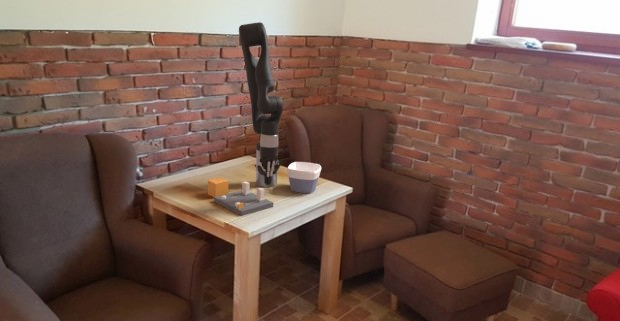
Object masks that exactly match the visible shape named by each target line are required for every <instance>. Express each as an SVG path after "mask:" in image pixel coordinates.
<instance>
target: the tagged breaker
mask: <svg viewBox="0 0 620 321" xmlns="http://www.w3.org/2000/svg"><path fill="white" fill-rule="evenodd" d="M255 195H256V198H255V200H256V201H258V202H263V201H265V200H266V198H265V188H264V187H256V193H255Z"/></svg>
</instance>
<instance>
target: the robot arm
mask: <svg viewBox="0 0 620 321" xmlns="http://www.w3.org/2000/svg"><path fill="white" fill-rule="evenodd" d="M238 35H239V36H238V37H239V42H240V46H241V50H242V56H243V59H244V66H245V73H246V82H247V87H248V92H249V99H250V105H251V118H252V119H251V120H252V128H253V132H254V134H257V135H260V138H259V139H260V140H259V142H257V143H256V148H255V150H256V153H255V154H256V155H255V158H256V159H255V161H256V163H255V164H254V167H255V185H256V186H258V187H260V188H270V187H274V186H276V185H277V184H278V170H279V169H280V167H281V166H282V164H283V163H282V161H279V160H278V156H279V155H278V154H279V124H280V120H281V117H282V115H283V111H284V101H283V98H281V97H280V96H277V95H276V96H273V95H272V96H271V95H270V96H268V94H269V93H272V92H274V91H275V89H276V86H275V80H274V77H273V72H272V66H271V58H270V51H269V50H270V48H269V42H268V35H267V30H266V27H265V24H264V23H263V22H260V21H258V22H252V23H244V24H241V25H239V27H238ZM257 46H260V56H259V59H258V60H256V58H255V57H254V56H253V53H252V52H251V50H250V48H251V47H257Z"/></svg>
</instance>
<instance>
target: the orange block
mask: <svg viewBox="0 0 620 321" xmlns="http://www.w3.org/2000/svg"><path fill="white" fill-rule="evenodd" d="M225 194H229V180H226V179H224V178H222V177H216V178H211V179H208V180H207V195H208V196H210V197H212V198H214V197H217V196H221V195H225Z"/></svg>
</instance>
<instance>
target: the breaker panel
mask: <svg viewBox="0 0 620 321" xmlns="http://www.w3.org/2000/svg"><path fill="white" fill-rule="evenodd" d="M241 192H242V189H241V190H239V191H234V192H228V194H225V195H221V196H217V197H213V202H214V203H216V204H217V205H220V206H221V207H223V208H226V209H228V210H229V211H231V212H233V213H235V214H237V215H239V216H242V217H243V216H244V217H245V216H247V215H249V214H253V213H256V212H260V211H264V210H268V209H271V208H273V207H274V202H273V201H271V200H269V199H266V198H265V199H266V200H265V201H263V202H258V201H256V200H255V198H256V193H252V192H251V194H250V195H246V196H245V195H243V194H241Z"/></svg>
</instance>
